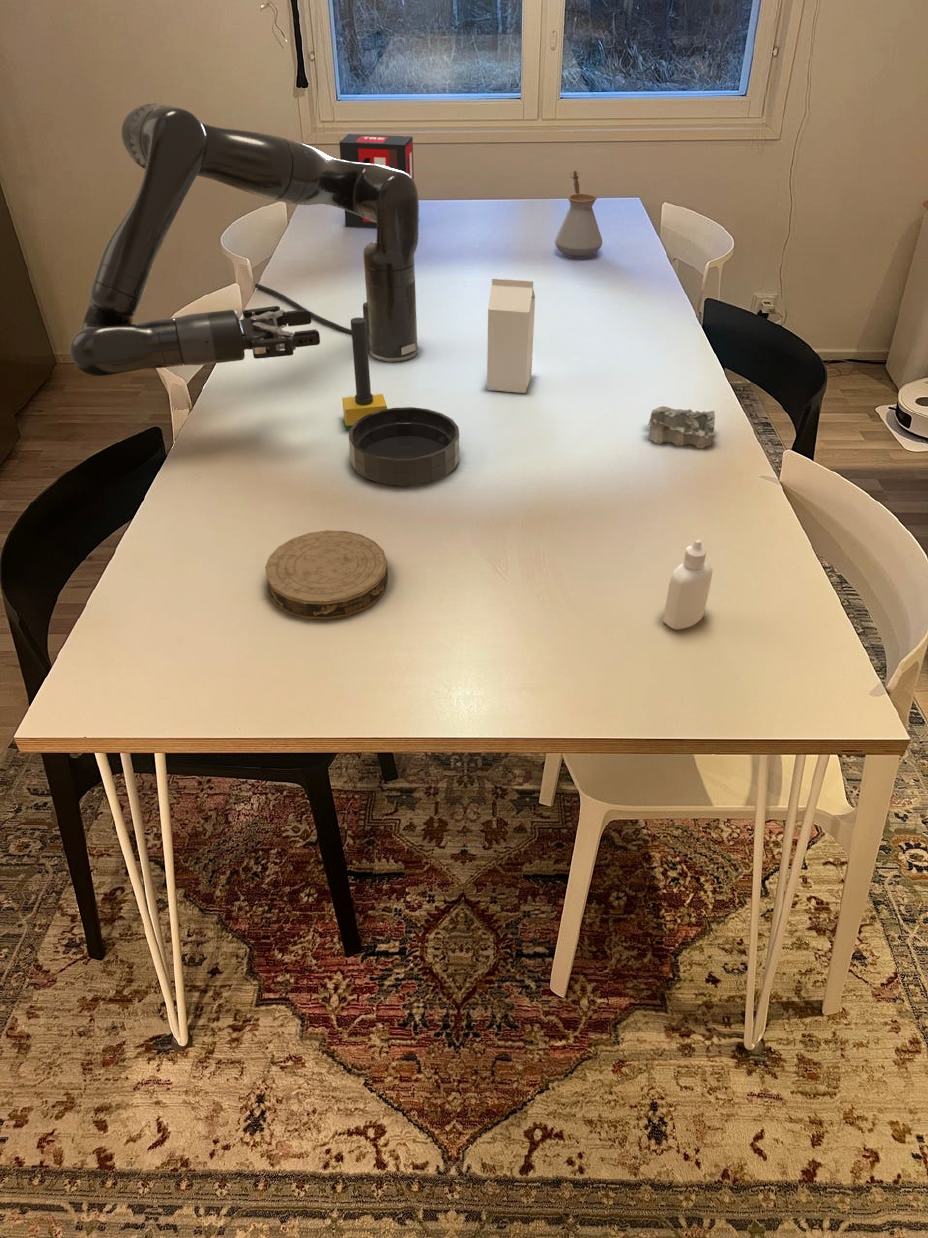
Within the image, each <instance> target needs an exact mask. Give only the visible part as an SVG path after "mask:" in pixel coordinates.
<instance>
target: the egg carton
mask: <svg viewBox="0 0 928 1238" xmlns="http://www.w3.org/2000/svg"><path fill="white" fill-rule="evenodd" d="M715 420H716V413H715V410H711V411H702V412H700V411H698V410H696V411H693V410H692V409H691V408H690V409H680V408H679V409H677V408H676V409H674V408H671V407H668V406H659V407H656V408H654V409H653V410H651V413H650V418H649V420H648V424H647V425H648V426H649V428H648V429H649V432H648V439H647V440H649V441H652V442H654V444H656V445H662V444H663V443H672V444H674V445H675V446H677V447H678V446H680V447H681V446H682V447H683V446H684V445H693V446H695V447H696V448H697V449H704V448H705V447H709V446H711V445H712V440H713V436H714V435H715V423H716V422H715Z"/></svg>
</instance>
